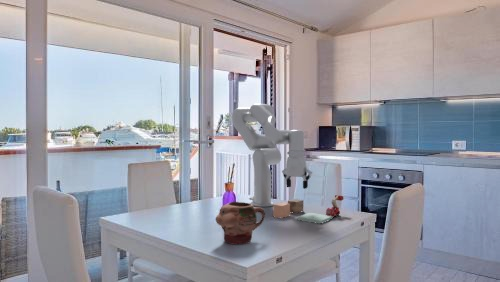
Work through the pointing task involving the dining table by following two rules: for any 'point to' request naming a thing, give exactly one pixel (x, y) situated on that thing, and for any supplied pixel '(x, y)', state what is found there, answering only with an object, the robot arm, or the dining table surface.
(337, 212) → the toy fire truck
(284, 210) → the terracotta brick
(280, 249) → the dining table surface
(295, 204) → the walnut brick
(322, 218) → the board
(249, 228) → the brown sculpted mug
